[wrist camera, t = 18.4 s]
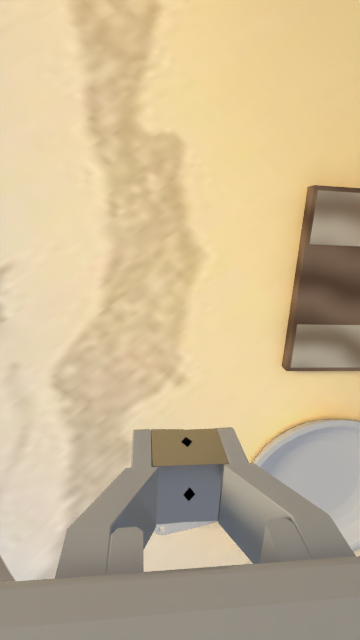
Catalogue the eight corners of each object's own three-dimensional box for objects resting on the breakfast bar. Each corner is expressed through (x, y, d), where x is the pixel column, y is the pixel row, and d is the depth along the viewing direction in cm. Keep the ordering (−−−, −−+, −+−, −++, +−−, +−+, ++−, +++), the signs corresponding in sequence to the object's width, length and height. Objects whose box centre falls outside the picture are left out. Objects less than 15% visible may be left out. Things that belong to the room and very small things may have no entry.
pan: (381, 531, 56) (402, 558, 52) (159, 565, 53) (161, 597, 49) (401, 397, 49) (428, 415, 44) (144, 427, 46) (144, 450, 41)
